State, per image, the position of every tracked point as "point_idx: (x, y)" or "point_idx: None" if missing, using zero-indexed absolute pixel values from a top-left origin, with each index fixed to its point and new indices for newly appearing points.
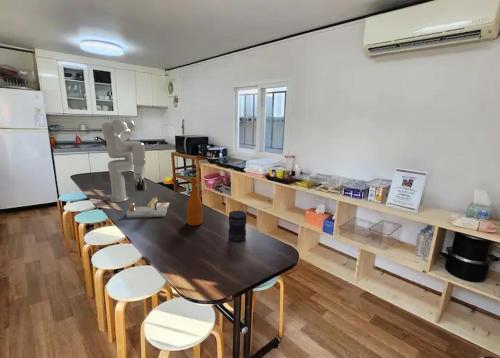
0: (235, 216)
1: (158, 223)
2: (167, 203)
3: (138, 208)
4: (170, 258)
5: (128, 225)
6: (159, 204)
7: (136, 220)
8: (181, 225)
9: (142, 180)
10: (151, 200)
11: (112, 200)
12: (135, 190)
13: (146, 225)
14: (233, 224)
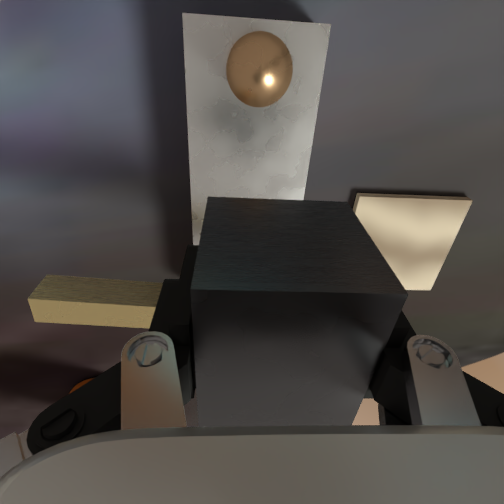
0: None
1: (87, 266)
2: (416, 282)
3: (271, 125)
4: None
5: (19, 77)
6: (418, 238)
7: (127, 122)
8: (75, 357)
9: (400, 410)
10: (154, 310)
11: None
12: (207, 206)
13: (45, 207)
14: None
